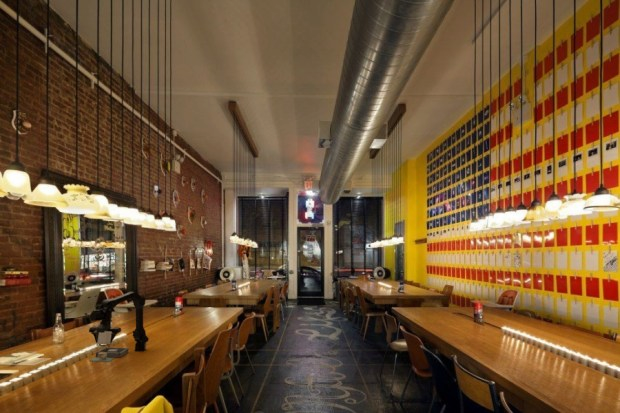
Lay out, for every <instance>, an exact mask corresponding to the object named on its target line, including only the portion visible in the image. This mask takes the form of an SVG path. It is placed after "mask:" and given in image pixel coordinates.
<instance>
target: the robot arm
mask: <svg viewBox="0 0 620 413" xmlns="http://www.w3.org/2000/svg"><path fill="white" fill-rule="evenodd" d="M128 300H131V301H132V304H133V306H134V308H135V329H134V330H133V331H132V338H133V339H134V342H135V345H134V352H144V351H146V350H147V342H149V340H150V339H149V337H148V336H147V331H146V330H145V328H144V307H145V305H146V297H145V296H143V295H139V294H138V293H136V292H134V291H128V292H127V293H124V294H121V295H119V296H116V297H114V298H108V299H103V300H102V303H100V305H99V306H98V308H97V309H93V310H92V312H90V315H89V320H90V321H91V322H95V321H97V322H98V321H99V324H100V325H99V324H98V326H90V327H89V329H88V333H90V334H92V335H93V337H94V341H95V343H97V342H98V336H99V332H100V333H104V332H105V331H110V332H112V333H111V340H110V344H109V345H111V344H112V343H113V341H114V339H115V338H116V336H117V335H118V334H119V333H121V332H122V327H112V329H110V328H111V322H112V315H113V313H115V312H116V310H115V309H114V308H115V307H117V305H119V304H121V303H123V302H125V301H128ZM112 323H113V322H112ZM145 349H146V350H145Z"/></svg>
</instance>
